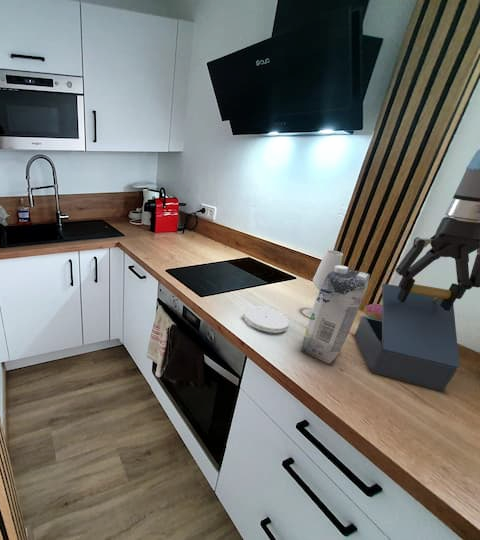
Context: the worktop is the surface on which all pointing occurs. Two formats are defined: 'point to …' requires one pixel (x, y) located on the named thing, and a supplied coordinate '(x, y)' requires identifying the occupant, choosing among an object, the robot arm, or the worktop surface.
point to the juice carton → (334, 312)
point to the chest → (399, 359)
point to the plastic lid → (266, 319)
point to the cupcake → (373, 311)
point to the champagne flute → (324, 272)
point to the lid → (419, 324)
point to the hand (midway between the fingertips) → (422, 303)
